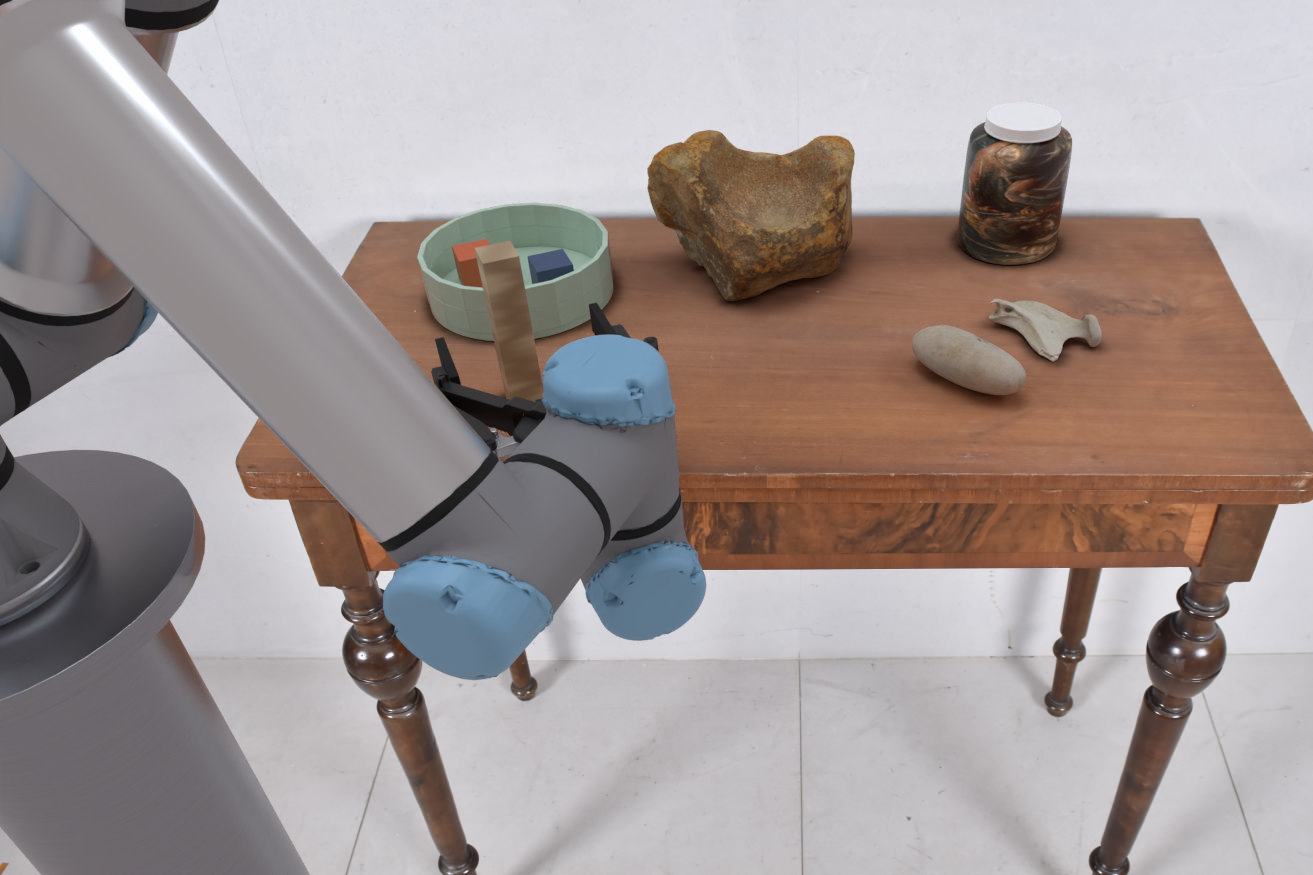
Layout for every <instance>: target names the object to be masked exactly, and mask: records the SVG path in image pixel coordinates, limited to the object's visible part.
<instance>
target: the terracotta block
mask: <svg viewBox="0 0 1313 875" xmlns="http://www.w3.org/2000/svg"><path fill="white" fill-rule="evenodd" d="M486 245H490V243H489V241H488V239H484V240H479V241H474V242H469V243H464V244H459V245H454V246H452V250H453V255H454V259H455V264H456V268H457V273H458V277H459V280H460V282H461V284H462V285H463V286H471V287H481V288H483V286H482V281H481V277H480V272H479V267H478V262H477V258H476V253H475V248H477V247H482V246H486Z"/></svg>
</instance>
